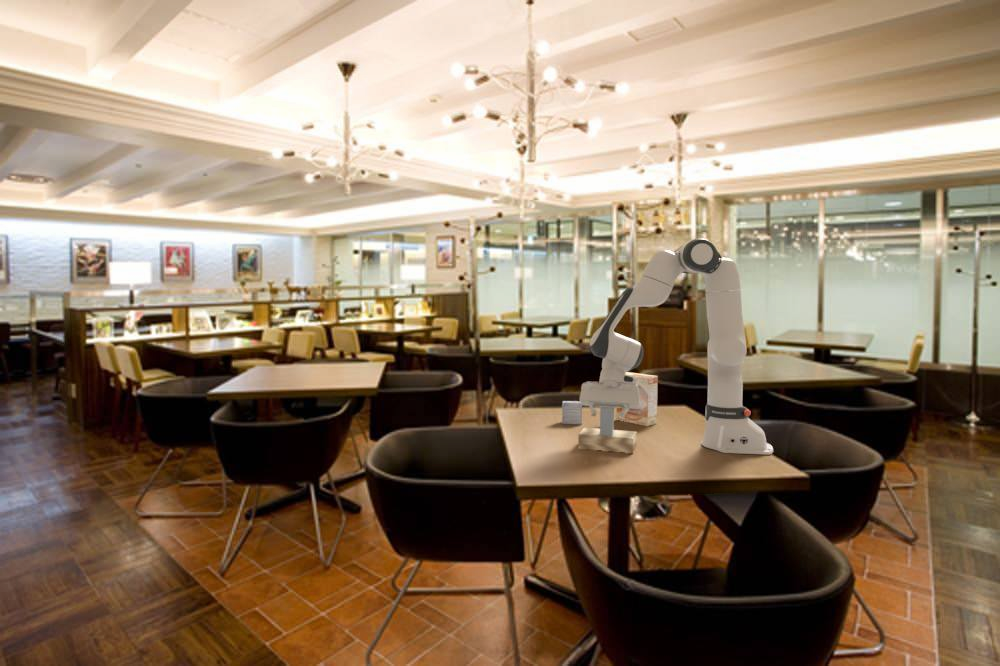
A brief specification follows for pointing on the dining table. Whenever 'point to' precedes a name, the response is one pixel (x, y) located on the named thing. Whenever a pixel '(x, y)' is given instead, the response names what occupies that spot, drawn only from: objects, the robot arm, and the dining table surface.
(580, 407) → the medicine box
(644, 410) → the coffeecake box
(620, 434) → the block
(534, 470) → the dining table surface
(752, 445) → the robot arm
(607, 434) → the pillar
